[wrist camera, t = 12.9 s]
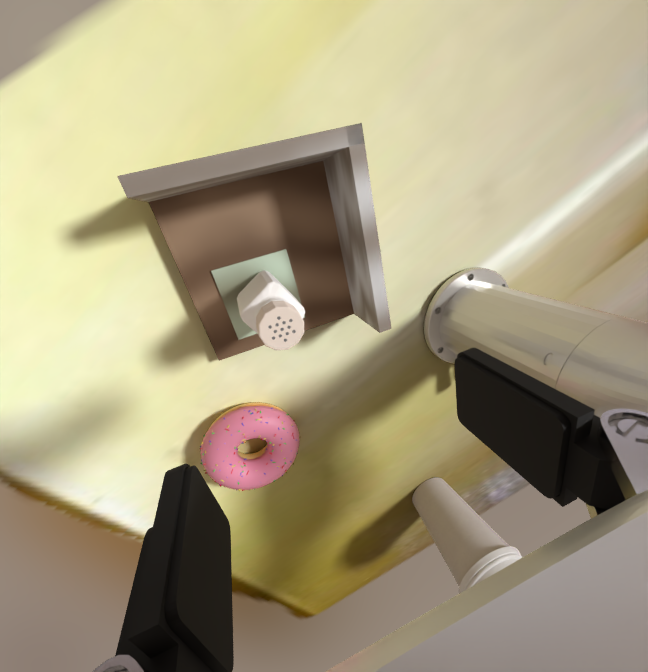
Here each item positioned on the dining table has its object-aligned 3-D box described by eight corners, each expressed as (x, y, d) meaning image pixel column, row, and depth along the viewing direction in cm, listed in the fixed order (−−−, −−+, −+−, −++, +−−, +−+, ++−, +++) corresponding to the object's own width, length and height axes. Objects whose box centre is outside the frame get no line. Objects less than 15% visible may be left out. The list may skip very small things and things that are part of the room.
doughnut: (308, 444, 39) (317, 468, 35) (228, 485, 38) (229, 515, 34) (275, 379, 34) (281, 399, 31) (182, 424, 33) (177, 450, 29)
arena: (359, 307, 34) (391, 328, 28) (219, 355, 31) (218, 391, 25) (328, 144, 27) (361, 122, 21) (144, 186, 24) (117, 176, 18)
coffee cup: (416, 522, 52) (483, 626, 39) (394, 496, 48) (461, 603, 35) (459, 489, 53) (539, 580, 40) (442, 460, 48) (525, 552, 35)
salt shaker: (265, 324, 30) (282, 366, 21) (233, 297, 28) (238, 332, 20) (293, 295, 30) (322, 326, 21) (263, 266, 28) (281, 288, 19)
